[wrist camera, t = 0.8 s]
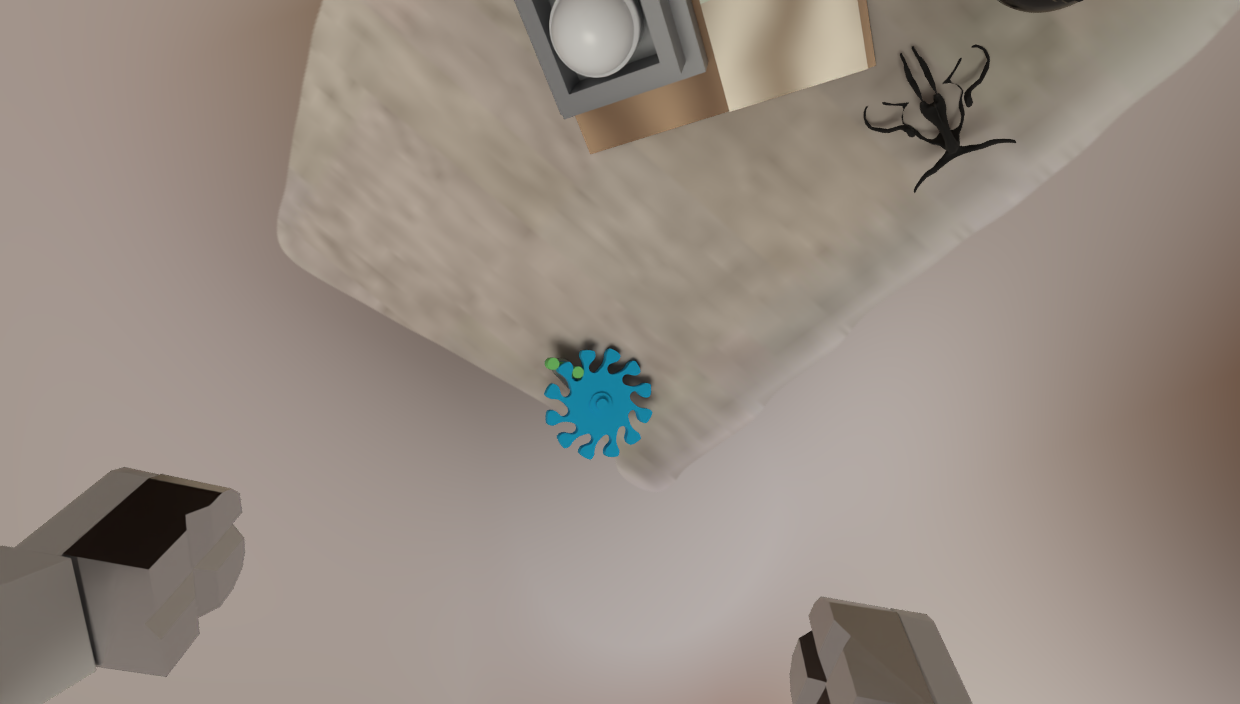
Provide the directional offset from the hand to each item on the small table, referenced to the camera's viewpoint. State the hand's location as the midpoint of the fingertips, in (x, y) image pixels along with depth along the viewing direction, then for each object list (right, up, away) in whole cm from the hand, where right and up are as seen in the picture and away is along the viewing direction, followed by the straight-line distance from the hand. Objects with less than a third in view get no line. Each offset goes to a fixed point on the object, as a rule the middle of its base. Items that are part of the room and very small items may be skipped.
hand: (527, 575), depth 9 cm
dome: (0, +23, +31) cm, 39 cm away
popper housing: (+1, +26, +34) cm, 43 cm away
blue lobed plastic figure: (0, +1, +54) cm, 54 cm away
